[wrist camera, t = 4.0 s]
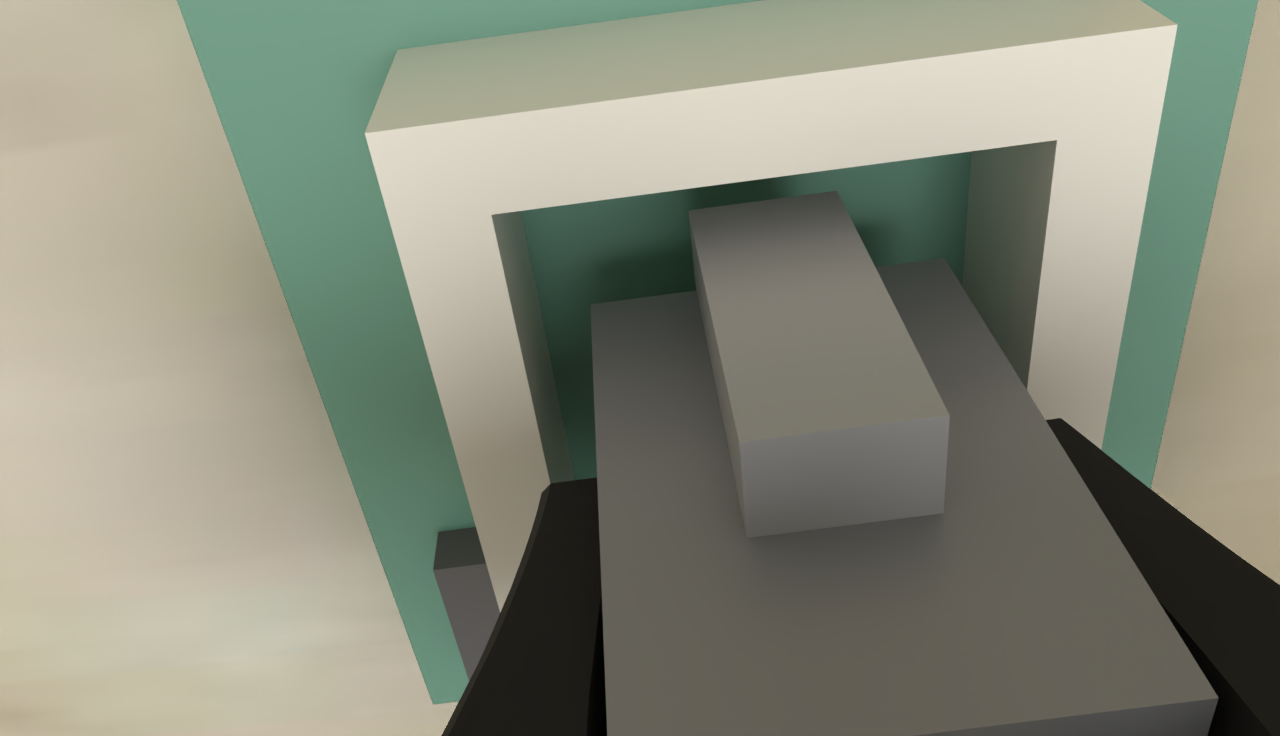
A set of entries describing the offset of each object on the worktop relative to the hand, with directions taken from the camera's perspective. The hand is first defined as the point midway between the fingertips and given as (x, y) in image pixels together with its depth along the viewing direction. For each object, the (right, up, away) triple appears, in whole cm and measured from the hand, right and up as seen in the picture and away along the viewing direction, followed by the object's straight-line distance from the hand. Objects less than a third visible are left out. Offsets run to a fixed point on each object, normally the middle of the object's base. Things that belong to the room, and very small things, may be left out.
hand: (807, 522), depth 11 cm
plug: (0, +1, +2) cm, 2 cm away
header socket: (0, +2, +3) cm, 4 cm away
